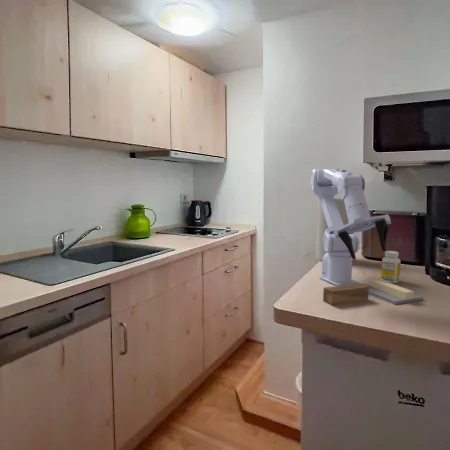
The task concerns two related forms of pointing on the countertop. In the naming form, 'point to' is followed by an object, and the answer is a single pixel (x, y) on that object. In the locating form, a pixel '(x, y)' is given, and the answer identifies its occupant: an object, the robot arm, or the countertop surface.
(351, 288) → the walnut bar
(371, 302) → the countertop surface
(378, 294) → the board
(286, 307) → the countertop surface
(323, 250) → the cylinder vase
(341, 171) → the robot arm
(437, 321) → the countertop surface
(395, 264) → the supplement bottle
